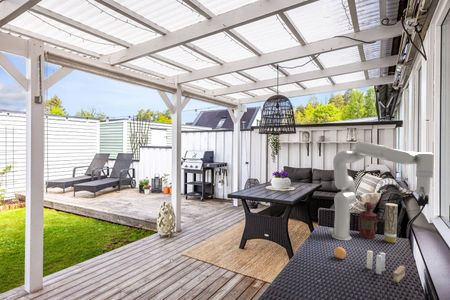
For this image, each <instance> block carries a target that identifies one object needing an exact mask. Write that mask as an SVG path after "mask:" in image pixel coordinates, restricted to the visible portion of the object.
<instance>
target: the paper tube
mask: <svg viewBox="0 0 450 300" xmlns="http://www.w3.org/2000/svg"><path fill="white" fill-rule="evenodd" d="M398 206H399V205H398V204H396V203H390V202H389V203H388V202H387V203H385V211H384V231H383V232H384V234H383V235H384V237H383V239H384V241H385V242H387V243H391V244H394V243H397V230H398V229H397V228H398V227H397V226H398Z"/></svg>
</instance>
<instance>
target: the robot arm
mask: <svg viewBox="0 0 450 300" xmlns="http://www.w3.org/2000/svg"><path fill="white" fill-rule="evenodd" d="M367 157H370V158H374V159H378V160H382V161H388V162H392V163H396V164H399V165H405V166H406V165H409V166H410V165H415V177H417V179H416V187H415V194H416V195H418V196H417V206H418V207H425V206H426V205H429V194H430V192H431V191H430V190H431V179H433V178H434V157H435V155H434V153H432V152H424V151H423V152H421V151H420V152H416V151H406V150H400V149H396V148H391V147H388V146H386V145H382V144H378V143H377V144H376V143H373V142H372V143H371V142H367V141H366V142H365V141H359V142H358V143H357V144H356V145H355V148H354V149H351V150H346V149H345V150H341V151H339V152H337V153H336V154H335V155H334V157H333V160H332V164H333V175H334V177H333V178H334V185H335V188H336V189H337V190H341V191H339V192H337V193H336V194H335V196H334V198H333V200H334V223H333V225H334V228H331V227H329V228H328V232H329V233H331V237H332V238H334V239H335V240H338V241H345V242H347V241H352V239H353V238H352V236H351V235H350V228H351V225H350V223H351V208H350V205H352V204H353V203H355V201H356V198H357V197H356V196H357V195H356V184H355V180H354V179H353V177H352V176H351V175H349V173H348V168H347V164H353V163H357V162H358V161H360V160H363V159H364V158H367Z"/></svg>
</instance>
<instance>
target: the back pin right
mask: <svg viewBox="0 0 450 300" xmlns="http://www.w3.org/2000/svg"><path fill="white" fill-rule="evenodd" d="M375 261H376V262H375V273H376V274H378V275H382V274H383V273H382V272H383V271H382V256H381V255H380V254H376V260H375Z"/></svg>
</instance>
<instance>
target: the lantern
mask: <svg viewBox="0 0 450 300" xmlns="http://www.w3.org/2000/svg"><path fill="white" fill-rule="evenodd" d="M368 195H369V199H371V198H372V194H371V193H367V194H366V195H365V198H366V200H368ZM363 208H364V209H365V210H363V211H359V216H358V218H357V219H358V223H357V224H358V225H357V226H358V230H359V232H358V236H360V237H361V238H364V239H371V240H372V239H373V240H374V239H375V238H376V232H377V230H378V226H377V223H378V219H377V218H376V217H377V216H378V215H377V213H374V212H373V211H372V209H373V204H372V202H371V201H365V202H364V204H363Z"/></svg>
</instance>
